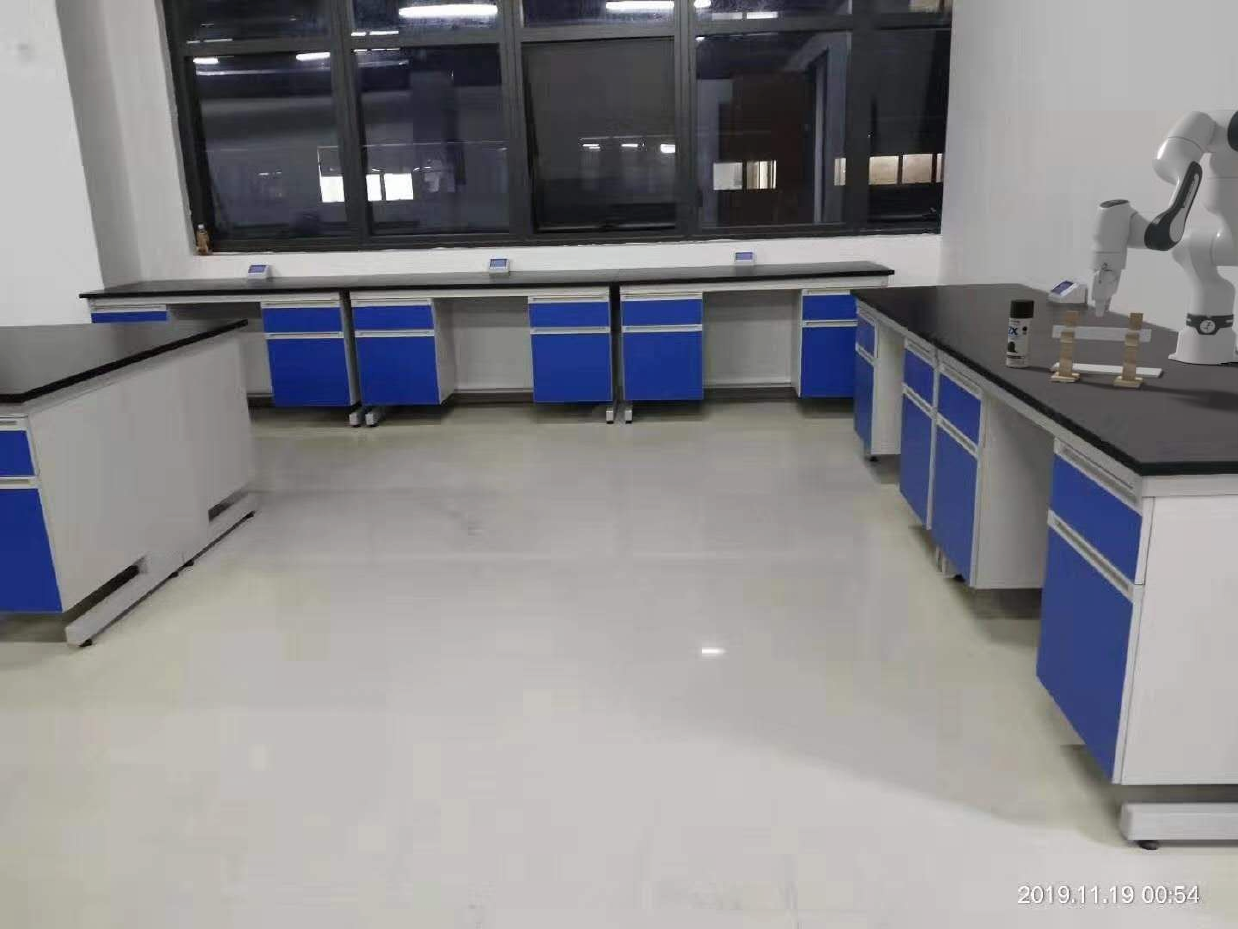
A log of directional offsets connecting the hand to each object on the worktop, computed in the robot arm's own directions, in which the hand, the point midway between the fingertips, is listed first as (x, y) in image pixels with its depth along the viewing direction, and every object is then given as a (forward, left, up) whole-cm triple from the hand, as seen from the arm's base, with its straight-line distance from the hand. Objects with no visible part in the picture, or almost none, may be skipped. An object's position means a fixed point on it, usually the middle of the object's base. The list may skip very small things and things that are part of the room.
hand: (1102, 314), depth 259 cm
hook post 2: (0, +8, -19) cm, 21 cm away
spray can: (-15, -24, -19) cm, 34 cm away
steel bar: (0, 0, -7) cm, 7 cm away
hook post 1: (0, -8, -19) cm, 20 cm away
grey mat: (-16, 0, -19) cm, 25 cm away
